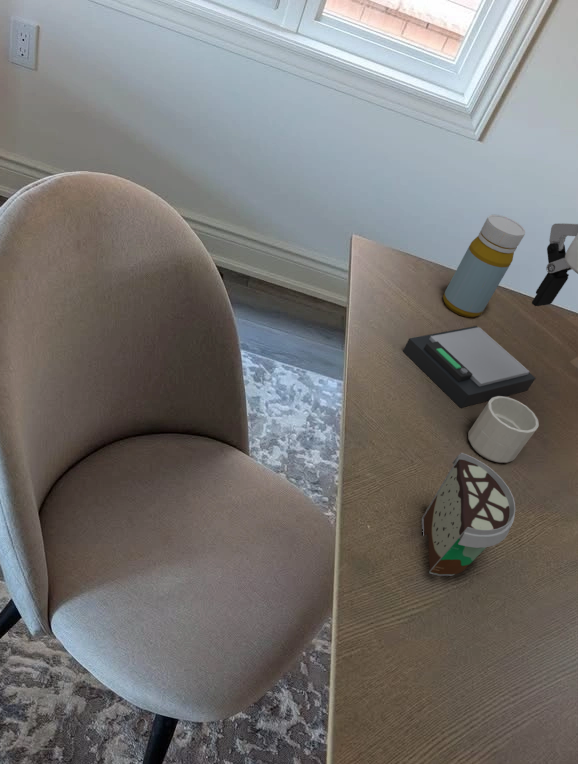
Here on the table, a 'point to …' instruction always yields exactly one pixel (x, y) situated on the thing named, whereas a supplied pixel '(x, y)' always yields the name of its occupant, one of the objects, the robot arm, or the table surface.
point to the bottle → (483, 266)
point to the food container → (466, 515)
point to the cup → (502, 429)
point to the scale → (468, 365)
